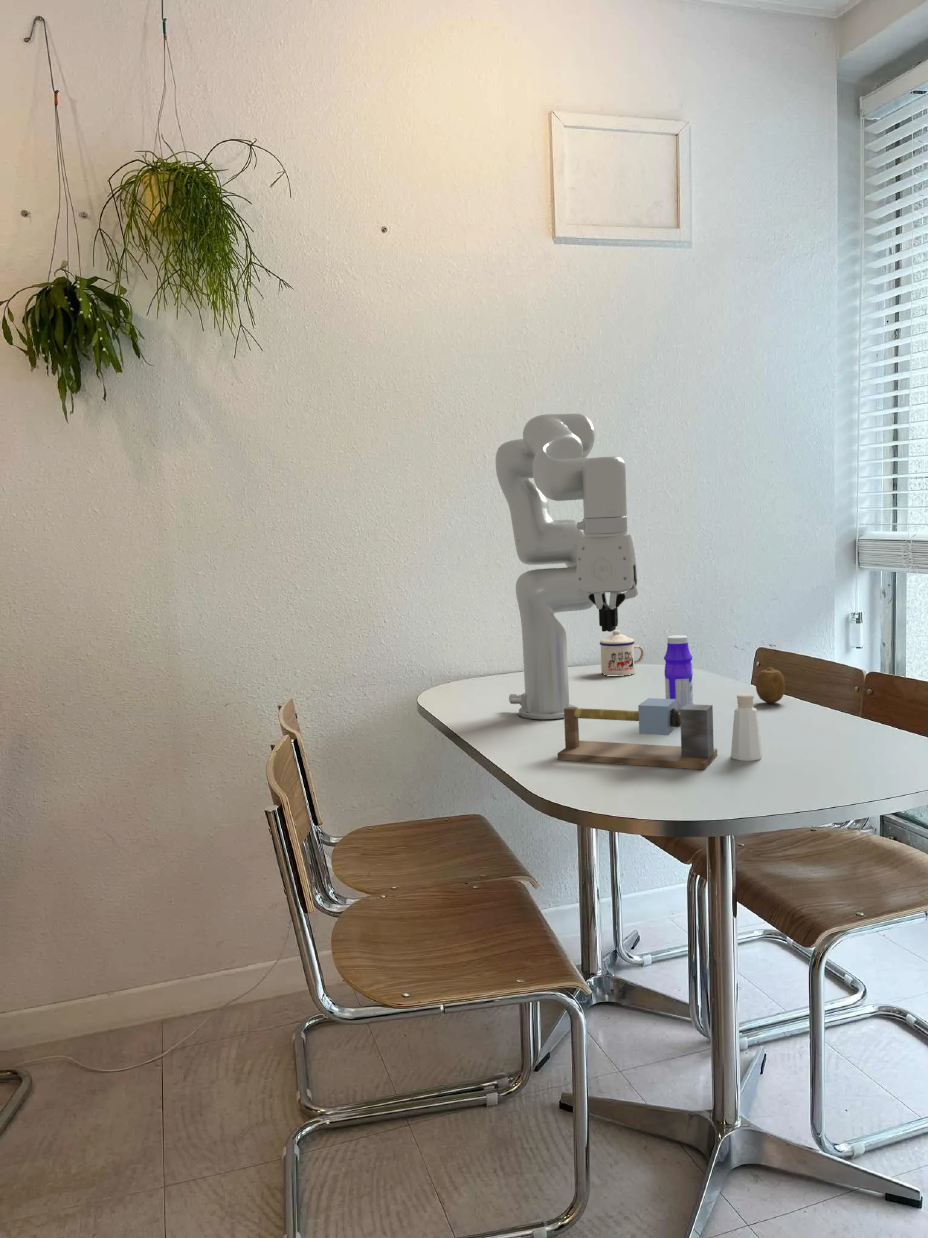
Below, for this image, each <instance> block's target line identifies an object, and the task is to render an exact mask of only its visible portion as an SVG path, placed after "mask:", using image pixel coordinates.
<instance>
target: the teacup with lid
mask: <svg viewBox="0 0 928 1238" xmlns="http://www.w3.org/2000/svg"><path fill="white" fill-rule="evenodd" d="M599 645H600V665H601V666H600V669H601V674H602V673H603V674H605V675H629V674H632V673H634V674H635V665H637V664H640V663H641V662H642V661H643V660H644V656H645V649H644V647H642V646H641V645H638V644H637V645H636V644H635V640H634V639H633V638H631V637H628V636H627V635H625V634H622V633H621V630H619V629H618V630H617V629H615V630H613V631H612V633H611V634H609V635H608V636H607V637H605V638H602V639H600V641H599ZM634 649H639V650H640V656H639V658H638V659H637V660H635V652H634V651H635V650H634Z"/></svg>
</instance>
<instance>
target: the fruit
mask: <svg viewBox="0 0 928 1238" xmlns="http://www.w3.org/2000/svg"><path fill="white" fill-rule="evenodd" d="M782 673H783V672H781V671H780V670H778V669H774V668H773V667H772V666H769V667H767V668H766V669H762V670H761V671H759V673H758V674H757V677H756V680H755V690H756V693H757V696H758V697H759V699H760V700H761V701H763V702H764V703H767V704H769V705H773V704H775V703H777V702H779V701H780V700H782V698H783V697H784V694H785V691H786V681H785V678H784V677H785V676H784V675H783V674H782Z"/></svg>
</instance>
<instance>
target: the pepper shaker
mask: <svg viewBox="0 0 928 1238" xmlns="http://www.w3.org/2000/svg"><path fill="white" fill-rule="evenodd" d="M736 699H737V707H736V708H735V709H734V711H733V712H734V714H733V725H732V726H733V727H732V737H731V750H730V758H731V759H733V760H736V761H743V762H754V761H760V760H761V759H762V757H763V749H762V741H761V734H760V726H759V719H758V711H757V708H756V707H754V695H753V694H752V693H749V692H748V693H746V692H745V693H744V692H743V693H739V694H737V695H736Z"/></svg>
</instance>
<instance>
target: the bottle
mask: <svg viewBox="0 0 928 1238" xmlns="http://www.w3.org/2000/svg"><path fill="white" fill-rule="evenodd" d="M666 638H667V643H666V644H667V648H666V652H665V655H664V657H663V660H664V661H665V665H664V677H665V678H664V679H665V680H664V682H665V683H664V685H665V688H664V689H665V691H664V692H665V699H676V700H677V709H681V708H682V707H683V706H685V705H686V704H694V693H693V675H694V674H693V673H694V671H693V665H692V660H693V656H692V654H691V652H690V648H689V641H688V640H689V639H688V636H687V635H683V634H678V635H677V634H675V635H669V636H667V637H666Z"/></svg>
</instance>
